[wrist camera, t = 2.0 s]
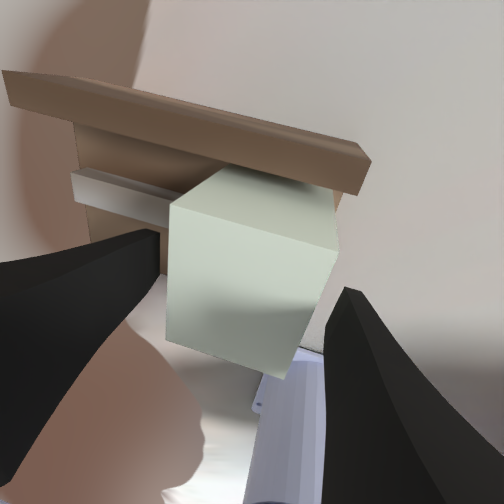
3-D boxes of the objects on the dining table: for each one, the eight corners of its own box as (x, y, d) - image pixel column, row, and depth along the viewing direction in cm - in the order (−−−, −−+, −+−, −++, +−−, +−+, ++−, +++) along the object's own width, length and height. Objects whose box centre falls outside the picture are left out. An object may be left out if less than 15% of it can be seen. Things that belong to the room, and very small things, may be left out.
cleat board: (297, 299, 18) (290, 354, 14) (107, 241, 19) (53, 277, 15) (357, 142, 13) (371, 161, 9) (89, 78, 14) (1, 70, 10)
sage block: (296, 288, 15) (283, 379, 10) (215, 263, 16) (165, 340, 11) (332, 189, 12) (339, 252, 7) (230, 163, 13) (169, 204, 8)
